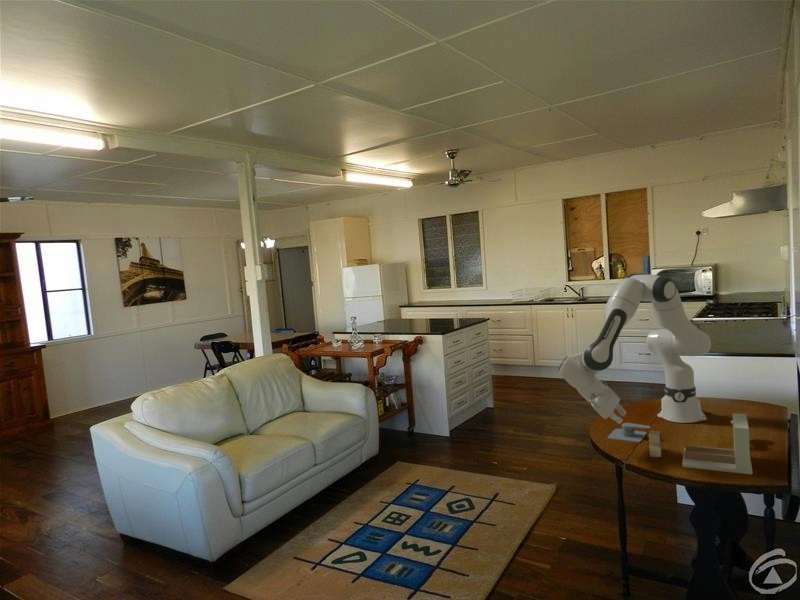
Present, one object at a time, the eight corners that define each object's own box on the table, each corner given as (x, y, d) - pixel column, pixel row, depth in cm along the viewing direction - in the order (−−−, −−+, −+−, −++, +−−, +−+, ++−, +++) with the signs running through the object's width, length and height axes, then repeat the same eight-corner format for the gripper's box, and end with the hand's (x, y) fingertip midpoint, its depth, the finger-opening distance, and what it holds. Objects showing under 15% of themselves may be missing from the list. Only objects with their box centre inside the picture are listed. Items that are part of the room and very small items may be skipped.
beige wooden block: (650, 453, 193) (649, 430, 192) (662, 454, 191) (661, 431, 190) (649, 456, 190) (648, 433, 189) (661, 457, 188) (660, 434, 187)
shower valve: (646, 431, 201) (606, 426, 211) (647, 445, 202) (607, 439, 211) (653, 421, 211) (614, 417, 220) (654, 435, 212) (615, 430, 221)
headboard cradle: (684, 450, 192) (682, 410, 191) (749, 456, 182) (747, 414, 181) (682, 466, 179) (680, 423, 178) (752, 474, 168) (750, 428, 167)
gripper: (594, 393, 189) (625, 421, 185) (604, 379, 207) (633, 405, 202) (582, 404, 192) (612, 432, 187) (593, 390, 209) (621, 415, 205)
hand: (623, 418), depth 195 cm, fingers open, 8 cm apart
